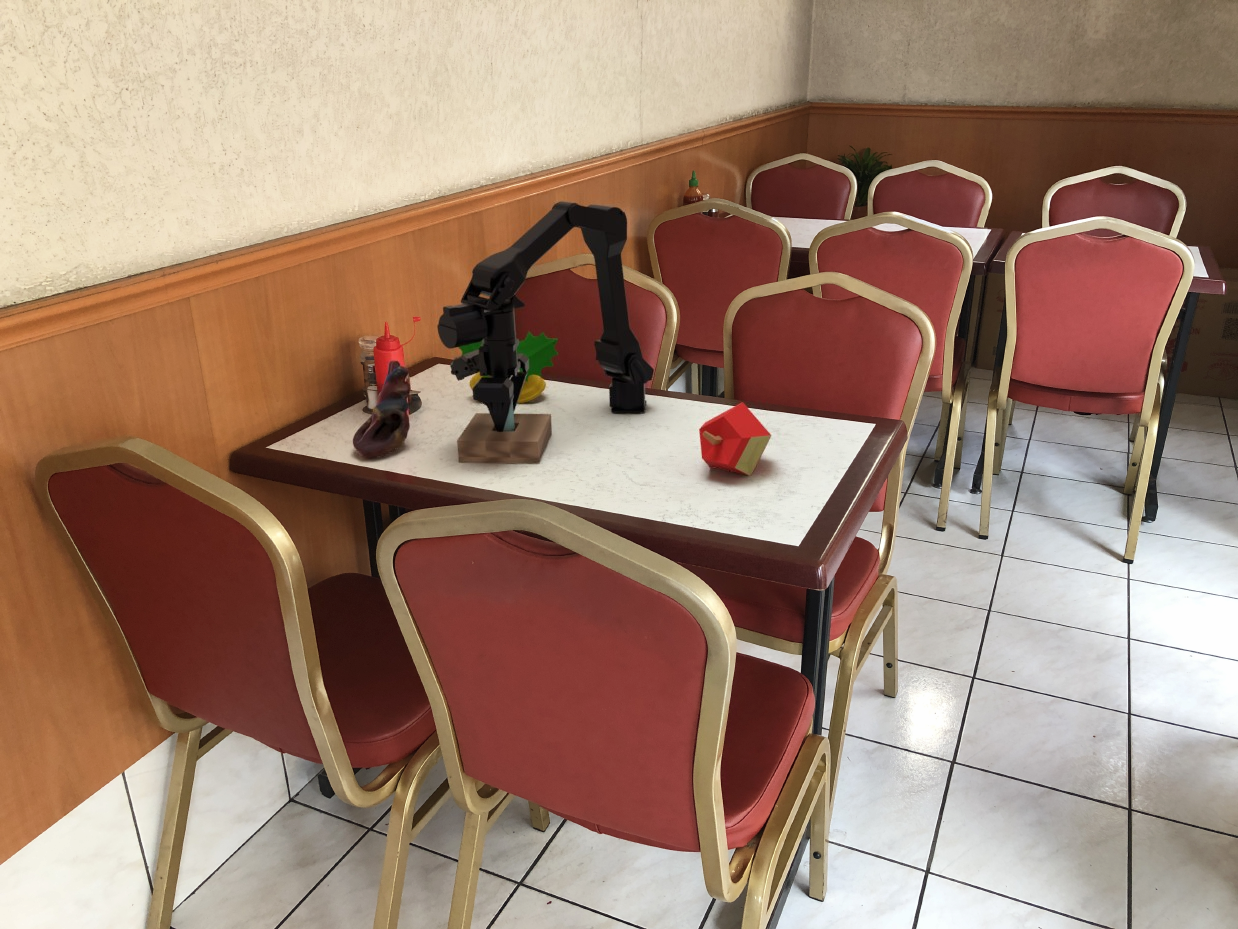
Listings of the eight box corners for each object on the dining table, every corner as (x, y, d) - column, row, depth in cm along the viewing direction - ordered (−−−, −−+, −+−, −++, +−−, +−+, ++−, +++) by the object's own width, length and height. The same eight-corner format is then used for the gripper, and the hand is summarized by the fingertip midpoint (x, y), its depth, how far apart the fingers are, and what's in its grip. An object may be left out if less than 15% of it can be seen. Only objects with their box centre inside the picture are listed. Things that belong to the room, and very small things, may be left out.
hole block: (551, 434, 178) (550, 413, 177) (538, 463, 166) (537, 441, 164) (477, 433, 180) (475, 413, 178) (458, 462, 167) (456, 440, 165)
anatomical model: (340, 452, 173) (329, 371, 167) (399, 432, 181) (390, 355, 175) (370, 465, 167) (359, 381, 161) (429, 444, 175) (421, 364, 169)
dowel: (517, 439, 174) (514, 396, 170) (513, 445, 171) (510, 402, 168) (500, 439, 174) (496, 396, 171) (496, 445, 171) (492, 402, 168)
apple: (781, 477, 163) (744, 478, 150) (716, 468, 169) (676, 468, 156) (790, 407, 162) (753, 402, 149) (724, 400, 168) (684, 395, 156)
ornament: (567, 393, 201) (564, 322, 195) (561, 406, 193) (557, 333, 187) (469, 392, 203) (464, 321, 197) (459, 405, 195) (453, 332, 189)
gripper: (466, 322, 174) (473, 404, 180) (438, 351, 157) (447, 441, 163) (527, 322, 173) (532, 405, 179) (505, 351, 156) (512, 442, 162)
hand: (505, 422), depth 171 cm, fingers open, 9 cm apart
